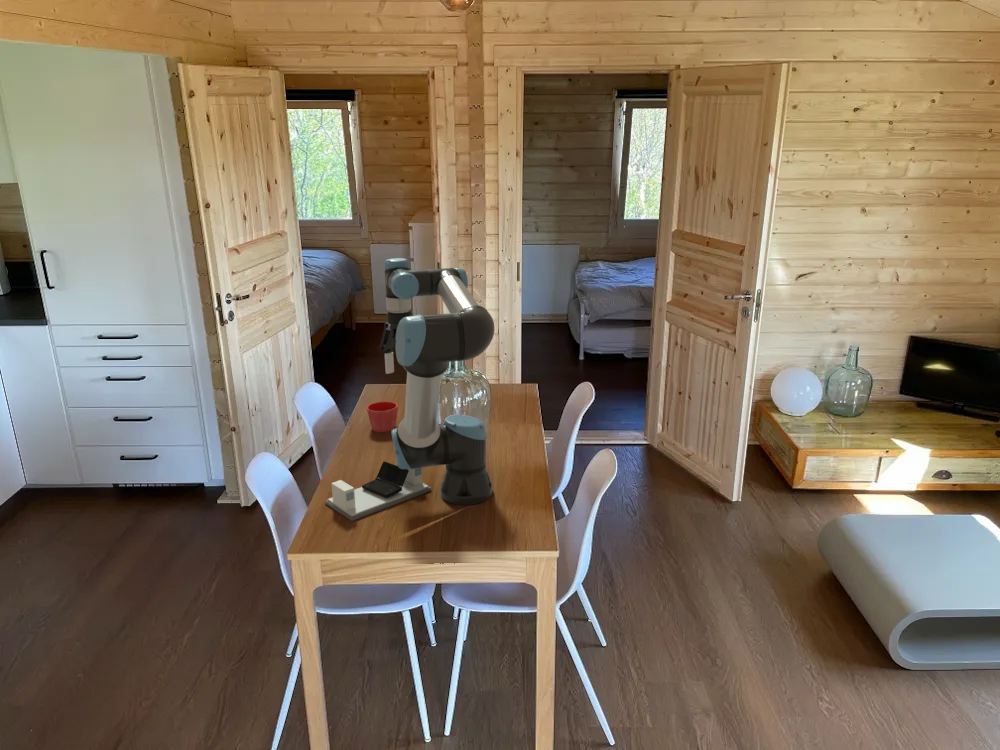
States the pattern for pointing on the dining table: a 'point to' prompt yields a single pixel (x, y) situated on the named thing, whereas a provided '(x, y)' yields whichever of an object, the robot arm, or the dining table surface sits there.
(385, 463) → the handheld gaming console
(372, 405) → the flower pot
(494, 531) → the dining table surface
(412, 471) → the board
